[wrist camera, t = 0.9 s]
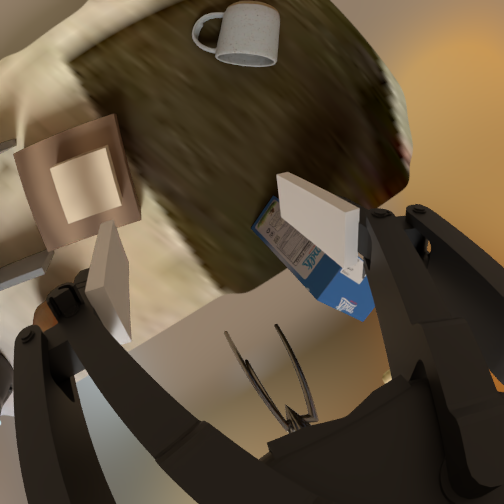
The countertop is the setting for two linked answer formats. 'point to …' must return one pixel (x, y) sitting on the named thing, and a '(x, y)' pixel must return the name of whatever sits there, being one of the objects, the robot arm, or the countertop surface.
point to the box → (26, 266)
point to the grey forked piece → (293, 419)
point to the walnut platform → (44, 191)
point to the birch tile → (87, 184)
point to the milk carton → (315, 265)
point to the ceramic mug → (245, 34)
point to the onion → (44, 317)
